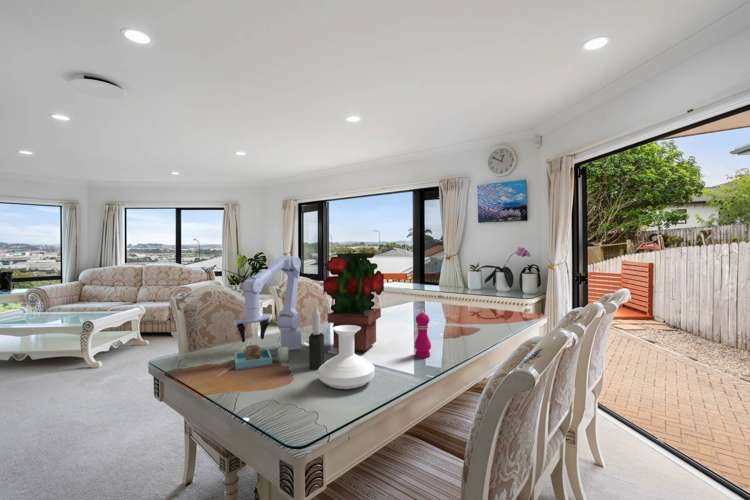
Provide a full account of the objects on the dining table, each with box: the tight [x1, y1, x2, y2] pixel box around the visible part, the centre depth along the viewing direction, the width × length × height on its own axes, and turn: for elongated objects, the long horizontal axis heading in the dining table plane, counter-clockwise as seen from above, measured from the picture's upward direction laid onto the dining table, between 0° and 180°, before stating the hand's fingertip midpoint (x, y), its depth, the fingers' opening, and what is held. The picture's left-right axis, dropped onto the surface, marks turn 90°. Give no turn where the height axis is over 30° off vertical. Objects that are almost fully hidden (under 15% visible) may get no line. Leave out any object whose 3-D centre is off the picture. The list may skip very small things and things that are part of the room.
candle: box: [308, 304, 325, 371], centre depth 140 cm, size 5×5×25 cm
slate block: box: [265, 346, 276, 356], centre depth 158 cm, size 4×4×3 cm
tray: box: [234, 348, 273, 371], centre depth 147 cm, size 14×14×3 cm
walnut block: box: [245, 344, 261, 361], centre depth 147 cm, size 4×4×6 cm
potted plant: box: [322, 252, 385, 354], centre depth 166 cm, size 22×22×45 cm
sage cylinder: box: [277, 347, 289, 363], centre depth 150 cm, size 4×4×5 cm
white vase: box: [317, 325, 376, 390], centre depth 124 cm, size 20×20×19 cm
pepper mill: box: [414, 309, 432, 359], centre depth 153 cm, size 7×7×20 cm
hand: (252, 340), depth 147 cm, fingers open, 7 cm apart
